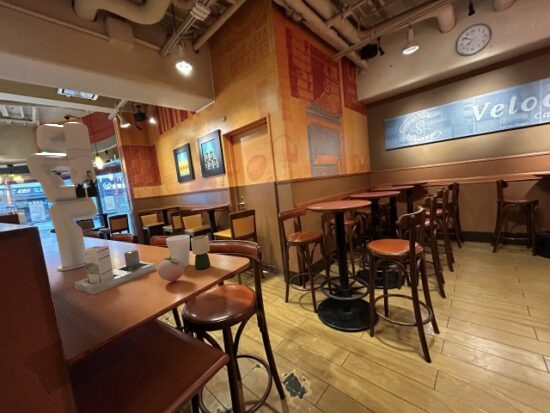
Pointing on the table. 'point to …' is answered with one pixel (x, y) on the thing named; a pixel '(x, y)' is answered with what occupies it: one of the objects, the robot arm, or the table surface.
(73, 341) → the table surface
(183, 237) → the foam cup
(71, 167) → the robot arm
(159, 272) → the decorative fruit
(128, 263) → the hole plate
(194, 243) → the character mug
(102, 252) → the syrup box
